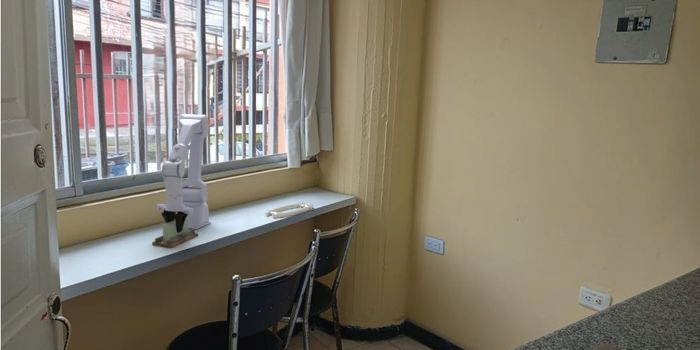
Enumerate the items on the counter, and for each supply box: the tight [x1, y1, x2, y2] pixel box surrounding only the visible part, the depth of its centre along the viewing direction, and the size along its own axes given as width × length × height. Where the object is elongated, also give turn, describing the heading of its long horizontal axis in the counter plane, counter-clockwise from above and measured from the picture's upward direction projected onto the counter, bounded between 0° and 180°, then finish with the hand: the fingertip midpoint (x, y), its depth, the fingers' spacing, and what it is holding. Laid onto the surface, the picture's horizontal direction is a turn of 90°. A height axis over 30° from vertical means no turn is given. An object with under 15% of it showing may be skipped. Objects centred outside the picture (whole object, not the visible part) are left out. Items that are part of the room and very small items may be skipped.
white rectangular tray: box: [264, 201, 314, 219], centre depth 220 cm, size 3×10×25 cm
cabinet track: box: [151, 228, 199, 249], centre depth 177 cm, size 15×8×2 cm, turn 161°
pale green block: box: [162, 218, 189, 242], centre depth 177 cm, size 10×3×6 cm, turn 161°
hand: (175, 231), depth 177 cm, fingers closed on pale green block, 3 cm apart
